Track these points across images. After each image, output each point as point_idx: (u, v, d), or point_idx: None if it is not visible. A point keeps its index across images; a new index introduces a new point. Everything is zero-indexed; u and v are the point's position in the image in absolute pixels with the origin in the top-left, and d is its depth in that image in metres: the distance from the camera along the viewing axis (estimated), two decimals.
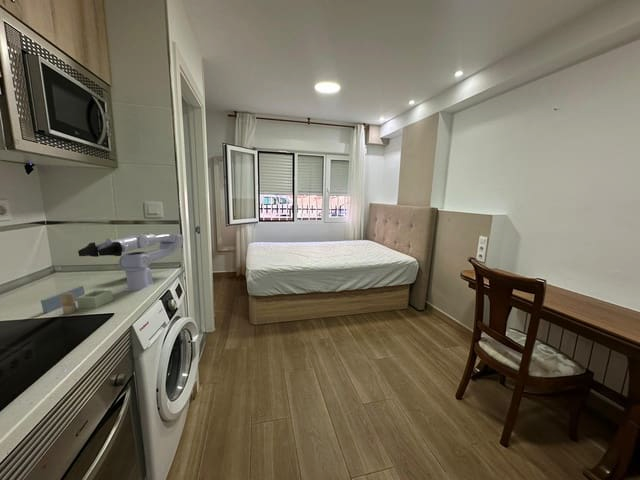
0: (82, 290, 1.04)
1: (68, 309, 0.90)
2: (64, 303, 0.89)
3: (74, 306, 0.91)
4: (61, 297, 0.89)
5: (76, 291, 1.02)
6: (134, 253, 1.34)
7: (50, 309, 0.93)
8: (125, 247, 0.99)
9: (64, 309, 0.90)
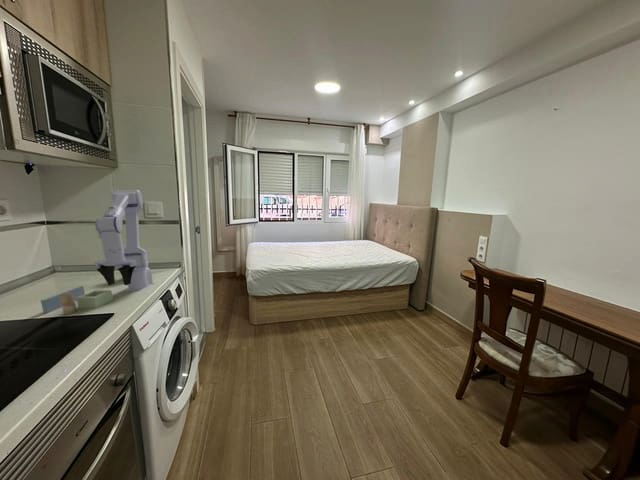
0: (82, 290, 1.04)
1: (68, 309, 0.90)
2: (64, 303, 0.89)
3: (74, 306, 0.91)
4: (61, 297, 0.89)
5: (76, 291, 1.02)
6: None
7: (50, 309, 0.93)
8: (133, 264, 0.94)
9: (64, 309, 0.90)
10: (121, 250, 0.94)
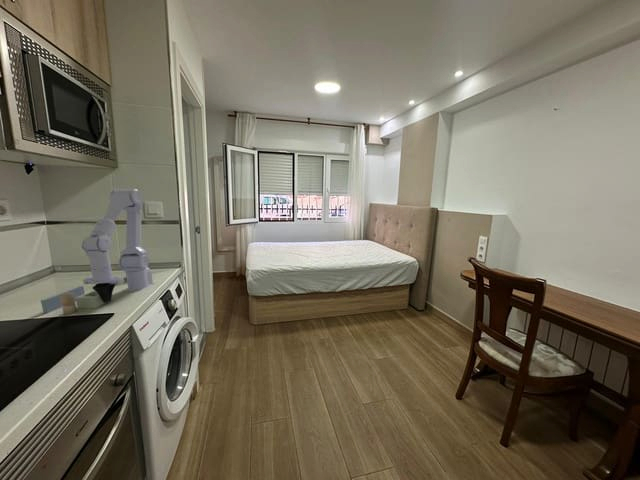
0: (82, 290, 1.04)
1: (68, 309, 0.90)
2: (64, 303, 0.89)
3: (74, 306, 0.91)
4: (61, 297, 0.89)
5: (76, 291, 1.02)
6: None
7: (50, 309, 0.93)
8: (121, 282, 0.96)
9: (64, 309, 0.90)
10: (109, 268, 0.96)
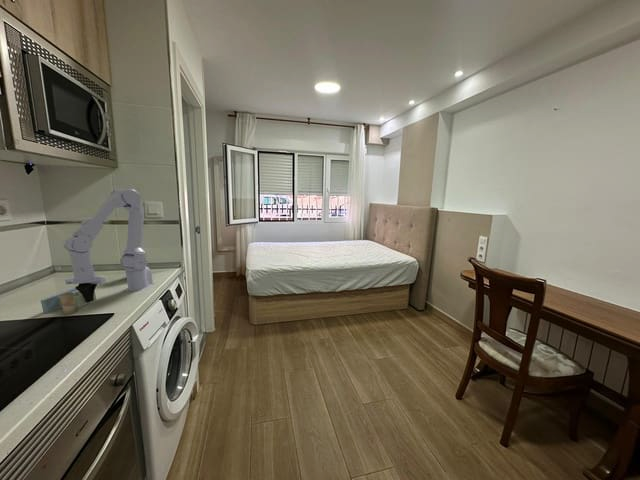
0: None
1: (68, 309, 0.90)
2: (64, 303, 0.89)
3: (74, 306, 0.91)
4: (61, 297, 0.89)
5: None
6: None
7: (50, 309, 0.93)
8: (103, 282, 0.96)
9: (64, 309, 0.90)
10: (90, 268, 0.96)
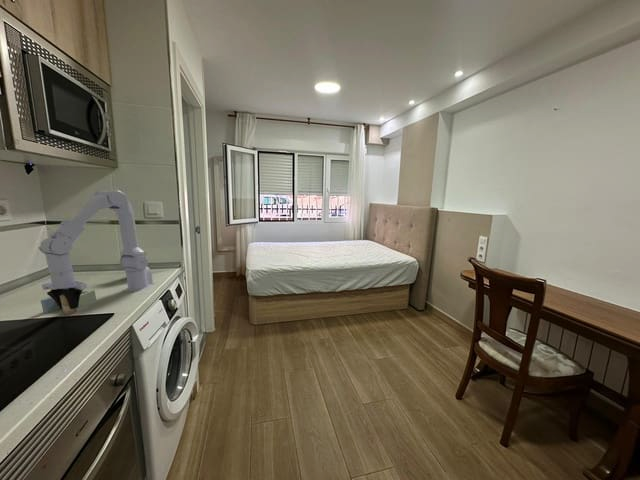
0: None
1: (67, 309, 0.90)
2: (64, 303, 0.89)
3: None
4: (61, 297, 0.89)
5: None
6: None
7: (50, 309, 0.93)
8: (83, 288, 0.89)
9: (64, 309, 0.89)
10: (70, 272, 0.89)
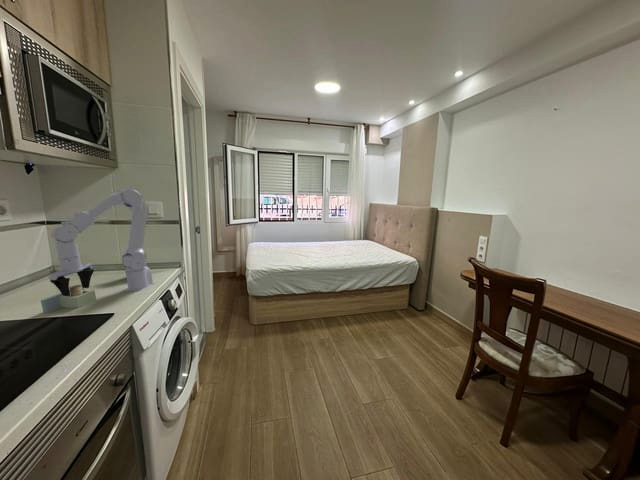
0: None
1: None
2: None
3: None
4: None
5: None
6: None
7: (50, 309, 0.93)
8: (50, 278, 0.90)
9: None
10: (62, 260, 0.93)
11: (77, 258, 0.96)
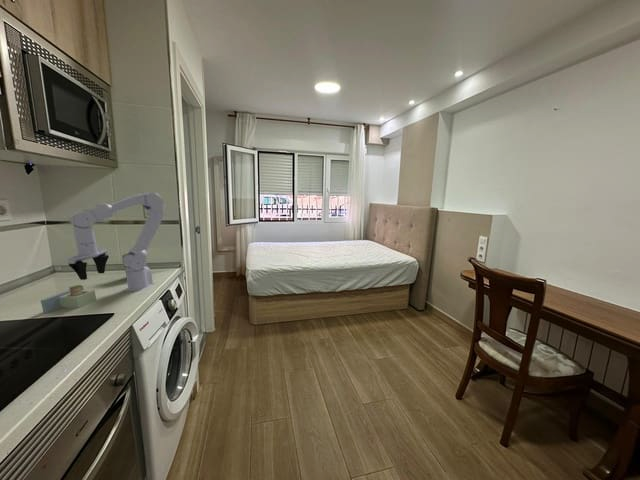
0: None
1: None
2: None
3: None
4: None
5: None
6: None
7: (50, 309, 0.93)
8: (69, 262, 0.94)
9: None
10: (80, 245, 0.97)
11: (94, 244, 1.00)
